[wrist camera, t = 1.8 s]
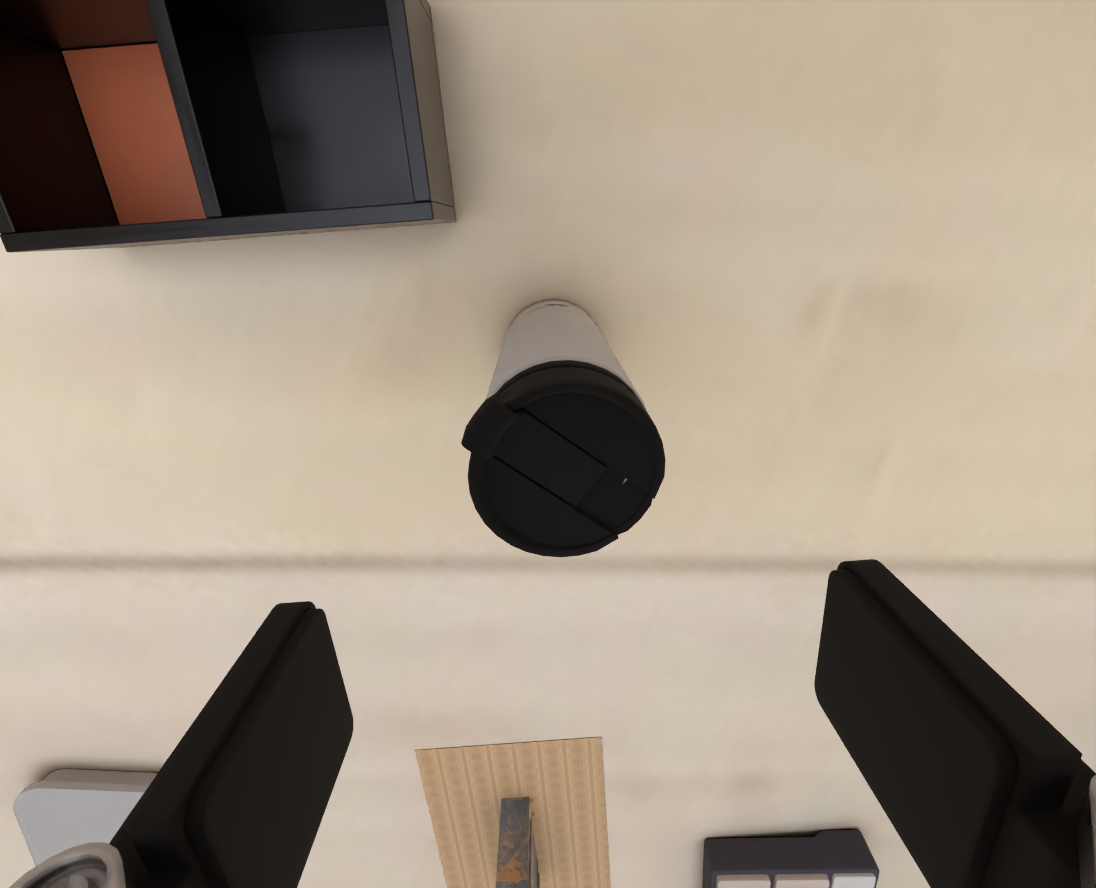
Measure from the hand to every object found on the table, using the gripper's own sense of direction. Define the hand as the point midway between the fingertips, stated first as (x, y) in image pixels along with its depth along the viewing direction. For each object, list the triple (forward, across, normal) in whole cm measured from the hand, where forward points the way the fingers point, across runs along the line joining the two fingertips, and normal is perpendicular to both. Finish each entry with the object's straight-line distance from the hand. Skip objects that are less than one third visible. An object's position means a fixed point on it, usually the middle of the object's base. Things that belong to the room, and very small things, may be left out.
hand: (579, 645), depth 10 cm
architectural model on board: (+27, +6, +47) cm, 54 cm away
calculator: (+27, -19, +54) cm, 63 cm away
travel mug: (+27, 0, 0) cm, 27 cm away
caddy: (+27, +15, -13) cm, 33 cm away
